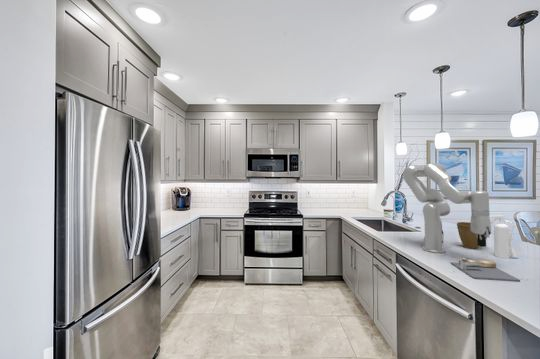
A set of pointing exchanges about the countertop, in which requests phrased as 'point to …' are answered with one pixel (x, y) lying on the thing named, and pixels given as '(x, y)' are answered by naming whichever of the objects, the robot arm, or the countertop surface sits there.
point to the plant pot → (467, 235)
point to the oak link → (485, 263)
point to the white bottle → (502, 238)
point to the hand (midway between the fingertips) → (481, 246)
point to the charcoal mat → (486, 273)
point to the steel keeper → (463, 264)
